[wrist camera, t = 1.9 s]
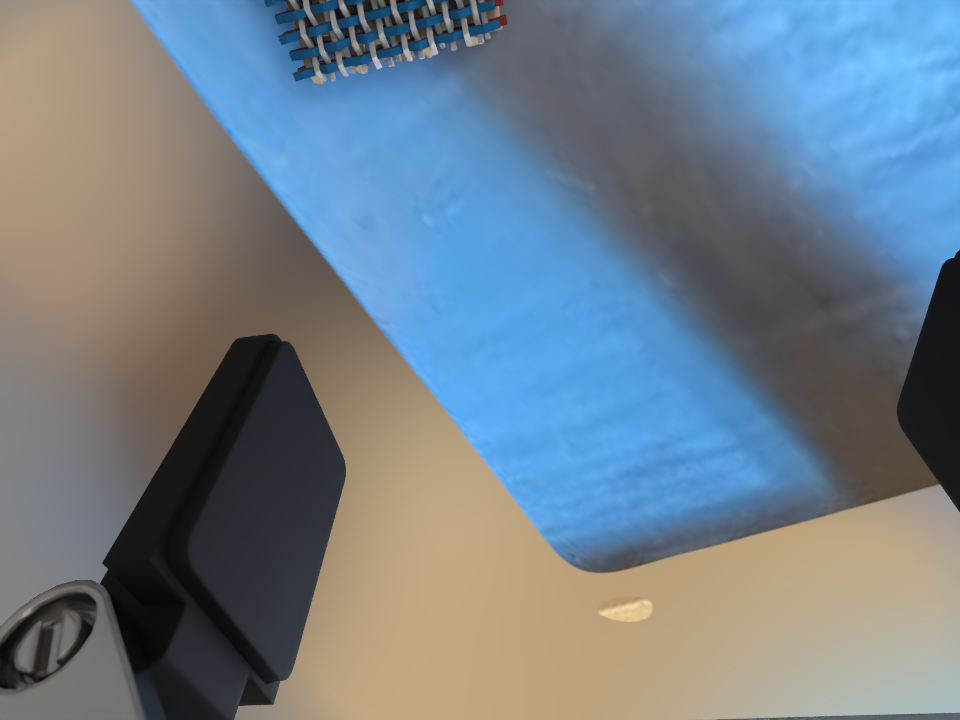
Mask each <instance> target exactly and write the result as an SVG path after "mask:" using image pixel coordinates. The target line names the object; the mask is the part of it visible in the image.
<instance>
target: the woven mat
mask: <svg viewBox="0 0 960 720" xmlns="http://www.w3.org/2000/svg"><path fill="white" fill-rule="evenodd" d="M311 1H312V3H313V4H311V5H309V0H303V6H304V7H302V4H301V1H300V0H264V2H265V4H266V7H269V6H272V5H275V4H278V3H282V2H285V3H286V5H287V8H288V11H286V12H283V13H279V14H276V15H275V19H276V21H277V24H281V23H286V22H291V21H293V24H294V27H295V30H291V31H288V32H284V33H283V34H282V35H280V36H278V38H279V40H280V42H281V45H283V44H286V43H289V42H293V41H296V40H300V43H301V45H302V48H299V49H296V50H292V51H290V52H289V54H290V57H291V60H292V61H294V60H301V59H304V63H305V66H303V67H300V68H298V72H295V73H293V75H294V78H295V80H296V81H299V80H302V79H305V78H309V77H310V78H311V79H312V80H313V82H314V83H315V84H319V85H323V83H324V82H326V80H327V78H326V76H325V75H324V74H329V73H330V77H331V81H332V82H333V81H335V80H336V76H335V71H337V70H340V71H341V73H342V74H343V76H348V74H347V72H346V68H348V67H350V70H351V73H356V70H357V71H358V72H359V73H360V74H364V73H367V72H368V67H369V66H368V62H370V61H373V62H374V64H375V66H376V68H377V70H378V69H380V68H382V65H381V63H380V61H379V60H378V59H382V60H384V61H385V60H386V59H387V61H388V65H389V67H392V66H395V65H394V60H393V56H395V57H396V60H397V62H401V61H406V60H408V61H409V62H412V60H413V59H414V58H415V54H414V51H418V55H419V59H421V60H422V59H424V58H425V56H426V57H428V58H431V57H432V56H434V55H436V54H438V51H437V48H436V45H435V44H439V45H440V48H445V47H446V46H445V43H448V42H450V44H451V51H456V50H457V46H456V40H459V39H461V38H463V37H464V38H465V42H466V45H467V47H471V46H474V45H478V43H479V44H483V43H484V37H483V34H485V38H486V40H487V39H491V36H490V32H494V31H498V30H500V29H502V28H503V25H507V20H506V15H504V16H500V11H499V6H501V5H504V4H503V0H478V2H476V0H456V3H457V6H458V7H456V8H453V9H450V7H449V2H448V0H401V1H400V0H385V1H384V0H311ZM377 1H378V2H377ZM385 2H386V3H385ZM378 3H379V5H380V6H379V5H378ZM434 3H435V7H436V10H435V7H434ZM353 4H356V5H357V10H358V12H357V13H354V10H353V7H352V5H353ZM427 5H428V7H429V10H430V13H431V14H430V15H429V11H428V7H427ZM336 8H338V10H339V13H340V16H341V17H338V18H336V16H335V12H334V9H336ZM436 11H437V13H436ZM403 12H408V16H409V20H406V21H405V18H404V14H403ZM478 13H481V18H482V21H480V19H479V15H478ZM313 14H314V16H315V18H314V16H313ZM307 16H308V17H309V19H310V21H311V23H312V25H309V24H308V21H307V18H306V17H307ZM383 17H384V20H385V23H386V25H383V24H382V18H383ZM453 19H461V24H462V26H461V27H457V28H454V24H453ZM358 23H361V24H362V27H363V29H364V31H361V32H360V29H359V25H358ZM432 25H434V26H435V30H436V32H433V30H432ZM340 28H344V29H345V32H346V35H347V36H346V37H344V35H343V34H342V32H341V30H340ZM408 31H412V34H413V36H414V37H413V38H410V36H409V32H408ZM313 36H317V42H318V44H316V43H315V40H314V37H313ZM386 37H390V40H391V43H392V45H389V44H388V42H387V39H386ZM322 38H323V40H324V41H325V42H323V40H322ZM364 43H369V48H370V51H366V47H365V44H364ZM349 46H350V47H351V50H352V53H353V55H351V54H350V51H349ZM326 52H330V53H331V55H332V58H333V60H330V59H329V57H328V55H327V53H326ZM320 54H321V56H322V58H323V59H324V61H319V55H320Z"/></svg>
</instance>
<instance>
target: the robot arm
mask: <svg viewBox="0 0 960 720" xmlns="http://www.w3.org/2000/svg"><path fill="white" fill-rule="evenodd" d="M897 416H898V421H899V424H900V426H901V428H902V430H903V432H904V433H905V435H906V436H907V437H908V439H909V440H910V442H911V443H912V445H913V446H914V447H915V449H916V450H917V452H918V453H919V455H920V456H921V457H922V459H923V460H924V462H925V463H926V465H927V466H928V467H929V469H930V470H931V472H932V473H933V475H934V476H935V477H936V479H937V480H938V482H939V483H940V485H941V486H942V487H943V489H944V490H945V492H946V493H947V494H948V496H949V497H950V499H951V500H952V502H953V503H954V504H955V506H956V507H957V509H958V510H959V512H960V250H959V251H958V252H957V253H956V255H955V257H954V258H951V259H948V260H947V261H946V262H945V263H944V264H943V266H942V268H941V270H940V273H939V276H938V279H937V282H936V286H935V289H934V292H933V295H932V298H931V301H930V304H929V308H928V311H927V314H926V317H925V320H924V323H923V326H922V330H921V333H920V336H919V339H918V342H917V345H916V348H915V351H914V355H913V358H912V361H911V364H910V367H909V370H908V373H907V377H906V380H905V383H904V386H903V389H902V392H901V395H900V398H899V402H898V406H897ZM345 477H346V466H345V460H344V458H343V455H342V453H341V451H340V448H339V446H338V444H337V442H336V440H335V438H334V435H333V433H332V431H331V429H330V426H329V424H328V422H327V420H326V418H325V415H324V413H323V411H322V409H321V407H320V404H319V402H318V400H317V398H316V396H315V394H314V391H313V389H312V387H311V385H310V383H309V380H308V378H307V376H306V374H305V371H304V369H303V367H302V365H301V363H300V360H299V358H298V356H297V354H296V352H295V349H294V348H293V346H292V345H291V344H290V343H289V342H287V341H284V342H282V341H281V339H280V338H279V337H278V336H277V335H274V334H267V335H258V336H251V337H243V338H238V339H236V340H235V341H234V342H233V344H232V345H231V347H230V349H229V350H228V352H227V354H226V355H225V357H224V359H223V361H222V362H221V364H220V365H219V367H218V369H217V371H216V372H215V374H214V376H213V377H212V379H211V381H210V382H209V384H208V386H207V387H206V389H205V391H204V393H203V394H202V396H201V398H200V399H199V401H198V403H197V404H196V406H195V408H194V409H193V411H192V413H191V414H190V416H189V418H188V419H187V421H186V423H185V425H184V426H183V428H182V429H181V431H180V433H179V435H178V436H177V438H176V440H175V441H174V443H173V445H172V446H171V448H170V450H169V451H168V453H167V455H166V456H165V458H164V460H163V462H162V463H161V465H160V467H159V468H158V470H157V472H156V473H155V475H154V477H153V479H152V480H151V482H150V483H149V485H148V487H147V488H146V490H145V492H144V493H143V495H142V497H141V499H140V500H139V502H138V504H137V505H136V507H135V509H134V510H133V512H132V514H131V516H130V517H129V519H128V520H127V522H126V524H125V526H124V527H123V529H122V531H121V532H120V534H119V536H118V538H117V539H116V541H115V542H114V544H113V546H112V547H111V549H110V551H109V552H108V554H107V556H106V558H105V559H104V561H103V564H104V565H105V566H106V567H107V568H108V571H107V573H106V574H105V576H104V577H103V579H102V581H101V583H100V584H98V583H96V582H94V581H91V580H75V581H72V582H68V583H64V584H61V585H57V586H55V587H53V588H51V589H49V590H47V591H45V592H43V593H41V594H39V595H37V596H36V597H35V598H33V599H32V600H30V601H29V602H28V603H26V604H25V605H23V606H22V607H20V608H19V609H18V610H17V611H16V612H15V613H14V614H13V615H12V616H11V617H10V618H9V619H8V620H6V621H5V623H3V625H1V626H0V720H234V718H235V714H236V712H237V708H238V706H243V705H244V706H245V705H272V704H274V701H275V697H276V694H277V691H278V687H279V683H280V681H283V680H286V679H287V678H288V677H289V676H290V674H291V672H292V670H293V667H294V664H295V660H296V656H297V653H298V649H299V645H300V642H301V638H302V634H303V631H304V627H305V623H306V620H307V616H308V612H309V609H310V605H311V602H312V598H313V594H314V591H315V587H316V584H317V580H318V576H319V573H320V569H321V565H322V562H323V558H324V554H325V551H326V547H327V543H328V540H329V536H330V532H331V529H332V525H333V522H334V518H335V515H336V511H337V507H338V504H339V500H340V496H341V493H342V489H343V485H344V481H345ZM719 720H960V713H940V714H938V713H937V714H936V713H935V714H896V715H858V716H857V715H856V716H821V717H787V718H753V719H719Z"/></svg>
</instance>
